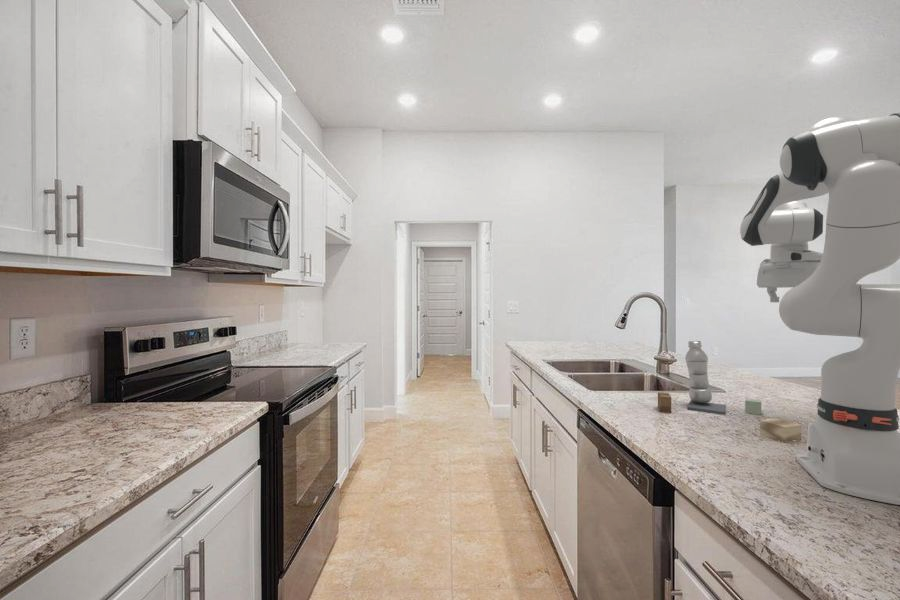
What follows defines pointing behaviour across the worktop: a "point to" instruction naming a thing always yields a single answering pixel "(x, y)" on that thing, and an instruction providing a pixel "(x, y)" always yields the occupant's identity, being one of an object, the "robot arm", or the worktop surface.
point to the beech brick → (780, 429)
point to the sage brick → (753, 406)
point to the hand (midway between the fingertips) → (787, 302)
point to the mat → (707, 407)
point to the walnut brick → (664, 402)
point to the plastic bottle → (698, 373)
